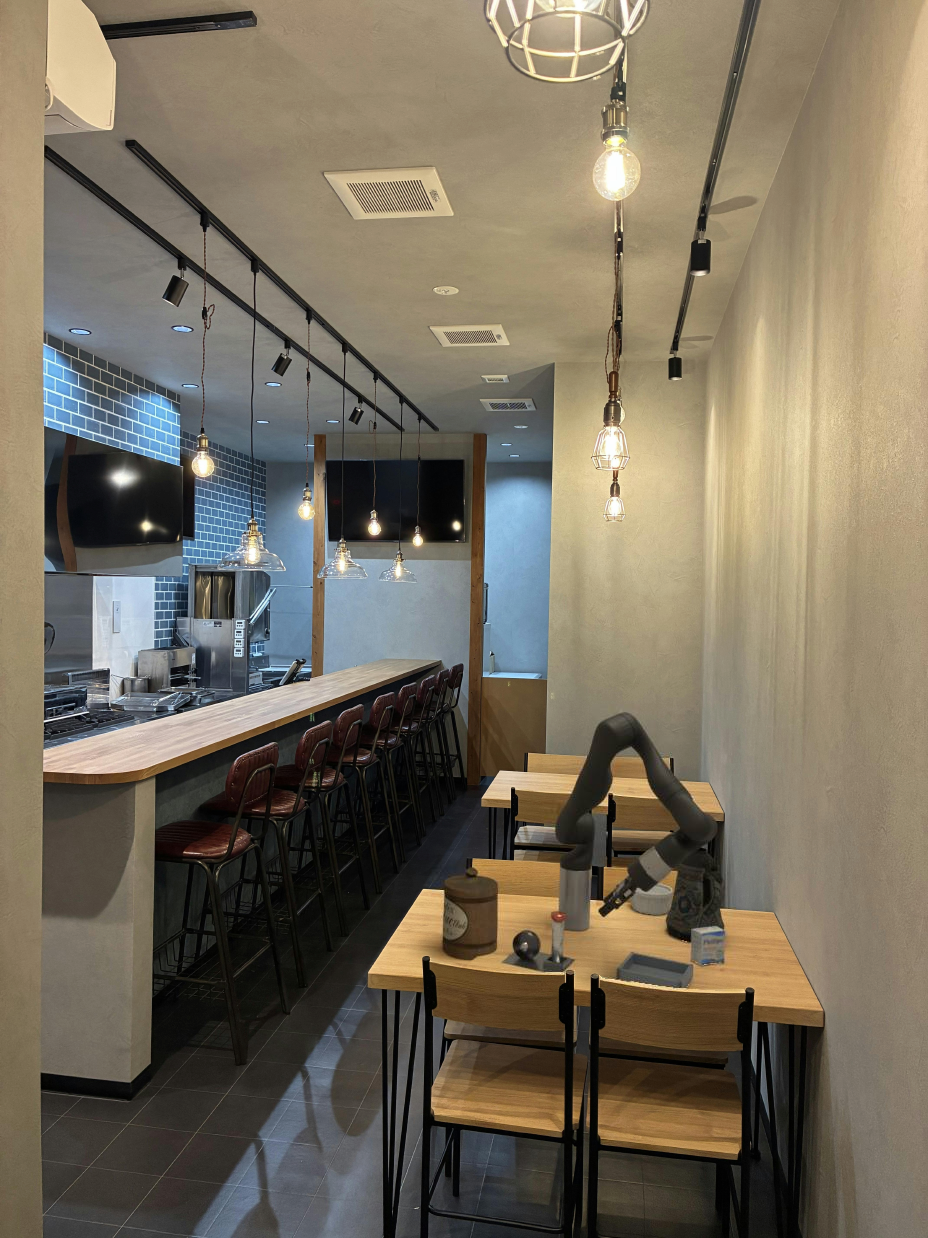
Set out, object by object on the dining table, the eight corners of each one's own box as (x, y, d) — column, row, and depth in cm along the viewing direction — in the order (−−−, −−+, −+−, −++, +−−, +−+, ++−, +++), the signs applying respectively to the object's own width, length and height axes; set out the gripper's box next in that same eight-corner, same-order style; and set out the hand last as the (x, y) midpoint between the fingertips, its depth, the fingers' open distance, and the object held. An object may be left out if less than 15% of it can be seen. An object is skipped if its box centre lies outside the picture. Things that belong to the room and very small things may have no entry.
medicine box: (700, 967, 229) (701, 934, 229) (689, 960, 233) (691, 928, 233) (724, 963, 232) (725, 930, 232) (713, 957, 236) (714, 925, 236)
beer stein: (683, 920, 265) (686, 838, 265) (743, 938, 251) (746, 851, 251) (654, 933, 253) (657, 847, 253) (716, 952, 239) (719, 861, 239)
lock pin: (552, 961, 226) (554, 910, 226) (566, 964, 225) (567, 913, 225) (547, 966, 223) (548, 914, 223) (561, 969, 221) (562, 917, 221)
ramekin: (645, 900, 283) (646, 879, 283) (680, 911, 273) (681, 889, 273) (620, 908, 274) (621, 886, 274) (655, 920, 264) (656, 897, 264)
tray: (630, 965, 228) (631, 952, 228) (692, 978, 221) (693, 964, 221) (616, 983, 216) (617, 969, 216) (681, 997, 209) (681, 983, 209)
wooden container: (434, 942, 239) (437, 862, 239) (484, 937, 244) (487, 859, 244) (453, 963, 225) (455, 878, 225) (505, 957, 231) (508, 874, 231)
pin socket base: (519, 951, 235) (520, 921, 235) (575, 963, 228) (576, 933, 228) (500, 966, 224) (501, 935, 224) (559, 979, 217) (560, 947, 217)
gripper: (642, 850, 225) (596, 889, 228) (637, 864, 211) (588, 905, 214) (662, 873, 223) (616, 912, 227) (658, 888, 210) (609, 930, 213)
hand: (602, 908), depth 221 cm, fingers open, 8 cm apart
